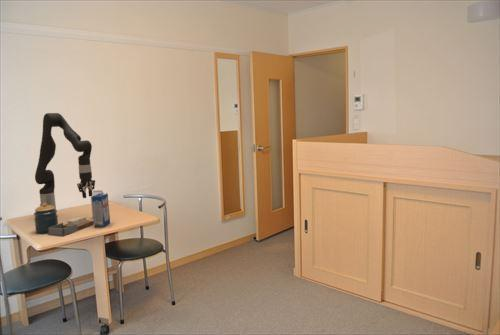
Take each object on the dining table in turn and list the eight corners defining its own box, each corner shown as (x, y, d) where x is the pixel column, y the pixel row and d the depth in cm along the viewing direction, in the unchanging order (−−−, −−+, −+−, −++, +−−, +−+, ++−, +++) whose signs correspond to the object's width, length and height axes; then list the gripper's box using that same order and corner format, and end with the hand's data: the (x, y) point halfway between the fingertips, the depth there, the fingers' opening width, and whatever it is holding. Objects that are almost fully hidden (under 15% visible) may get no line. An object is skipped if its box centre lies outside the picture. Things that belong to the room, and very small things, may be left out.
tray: (48, 234, 239) (47, 227, 239) (62, 229, 249) (62, 222, 249) (63, 236, 235) (62, 229, 234) (77, 230, 245) (76, 224, 245)
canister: (34, 235, 239) (31, 206, 237) (36, 229, 251) (33, 202, 249) (58, 231, 244) (55, 203, 242) (59, 226, 256) (56, 199, 254)
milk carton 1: (101, 218, 272) (99, 191, 269) (92, 218, 273) (90, 191, 271) (107, 216, 279) (105, 189, 276) (98, 215, 280) (96, 189, 278)
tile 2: (74, 223, 254) (74, 218, 253) (80, 221, 258) (80, 216, 258) (80, 223, 252) (80, 219, 252) (86, 221, 257) (86, 217, 256)
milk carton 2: (100, 223, 261) (98, 193, 258) (110, 223, 260) (107, 193, 258) (94, 227, 251) (91, 196, 248) (104, 227, 250) (101, 196, 248)
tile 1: (67, 225, 249) (67, 220, 248) (73, 223, 253) (73, 218, 253) (74, 226, 247) (73, 221, 247) (80, 223, 252) (79, 219, 251)
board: (62, 229, 249) (62, 225, 249) (79, 223, 262) (79, 219, 262) (77, 230, 245) (77, 226, 245) (93, 224, 258) (93, 220, 258)
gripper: (88, 169, 266) (91, 194, 268) (72, 173, 253) (74, 199, 255) (97, 169, 263) (99, 195, 266) (81, 173, 250) (84, 199, 253)
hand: (87, 197), depth 261 cm, fingers open, 4 cm apart
